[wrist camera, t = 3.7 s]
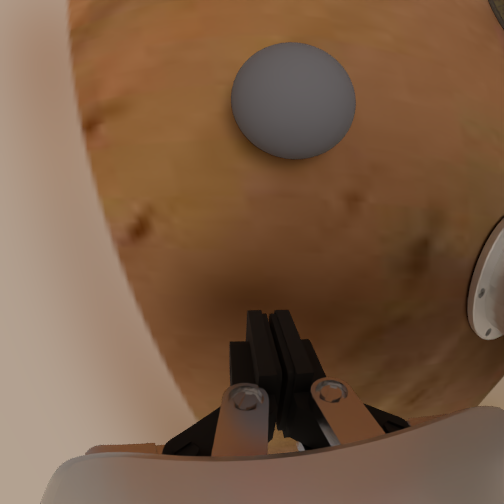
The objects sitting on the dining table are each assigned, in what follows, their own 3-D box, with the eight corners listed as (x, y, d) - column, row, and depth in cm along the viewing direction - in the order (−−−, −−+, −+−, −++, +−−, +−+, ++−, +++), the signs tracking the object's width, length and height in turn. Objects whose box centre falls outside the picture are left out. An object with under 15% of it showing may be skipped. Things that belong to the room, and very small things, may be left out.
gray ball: (351, 124, 15) (401, 112, 9) (274, 179, 16) (293, 190, 10) (292, 47, 13) (316, 3, 8) (211, 100, 14) (198, 71, 9)
